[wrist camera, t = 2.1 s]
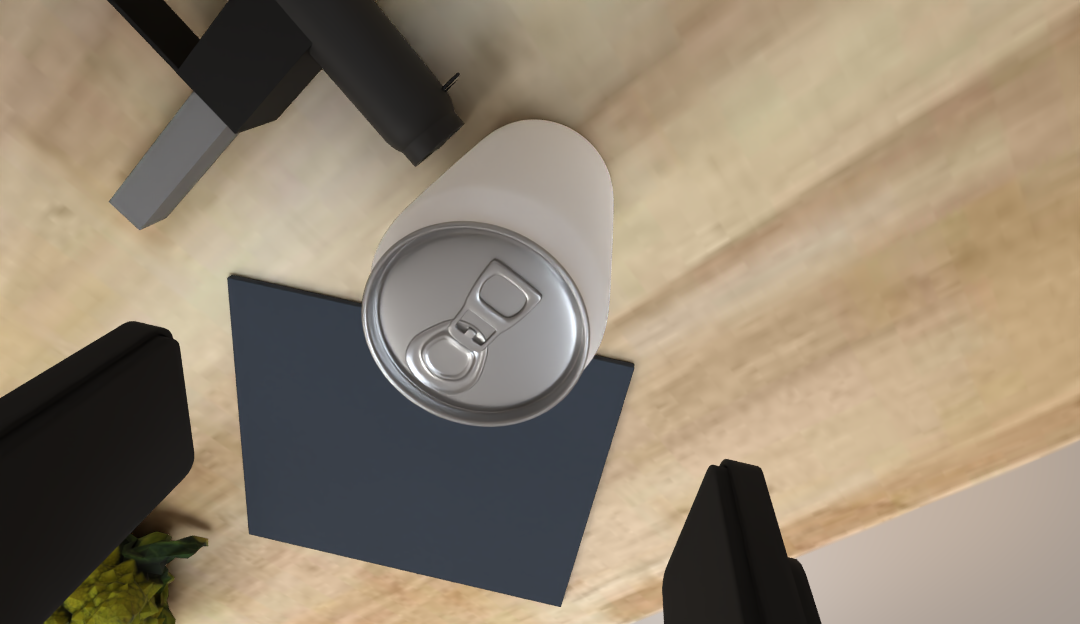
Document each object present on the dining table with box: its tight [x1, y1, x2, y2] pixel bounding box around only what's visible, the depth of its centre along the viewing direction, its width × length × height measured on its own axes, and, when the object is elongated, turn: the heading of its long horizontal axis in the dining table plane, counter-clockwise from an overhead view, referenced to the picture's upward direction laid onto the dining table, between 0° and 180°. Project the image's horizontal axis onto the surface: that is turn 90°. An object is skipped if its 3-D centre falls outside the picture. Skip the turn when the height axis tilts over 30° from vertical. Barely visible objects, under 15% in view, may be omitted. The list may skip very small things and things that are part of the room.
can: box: [362, 120, 614, 427], centre depth 19 cm, size 6×6×12 cm
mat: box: [227, 275, 634, 607], centre depth 32 cm, size 20×18×1 cm
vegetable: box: [43, 532, 208, 624], centre depth 36 cm, size 15×16×15 cm
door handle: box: [107, 0, 464, 230], centre depth 22 cm, size 3×20×16 cm
